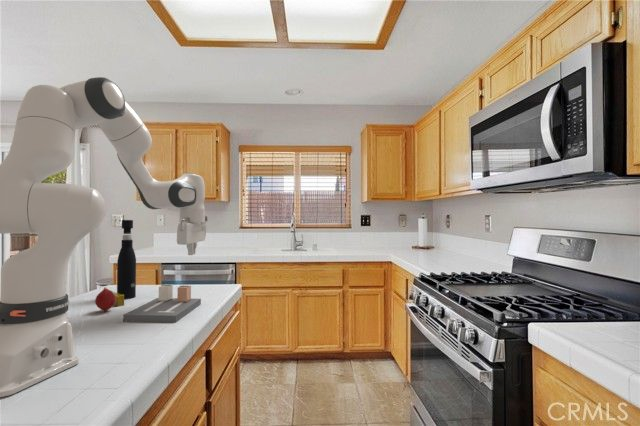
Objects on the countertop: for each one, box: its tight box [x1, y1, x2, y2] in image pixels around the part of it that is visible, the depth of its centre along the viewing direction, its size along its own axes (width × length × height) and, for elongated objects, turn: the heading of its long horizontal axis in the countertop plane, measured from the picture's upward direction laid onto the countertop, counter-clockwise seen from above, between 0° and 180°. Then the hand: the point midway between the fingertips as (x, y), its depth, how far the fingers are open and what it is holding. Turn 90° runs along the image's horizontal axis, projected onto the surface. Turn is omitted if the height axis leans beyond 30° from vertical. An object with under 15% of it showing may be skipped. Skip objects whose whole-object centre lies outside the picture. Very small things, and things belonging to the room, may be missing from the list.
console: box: [122, 297, 202, 323], centre depth 119 cm, size 22×16×2 cm
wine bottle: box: [116, 219, 137, 300], centre depth 139 cm, size 6×6×30 cm
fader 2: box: [176, 284, 192, 302], centre depth 126 cm, size 4×3×5 cm
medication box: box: [111, 290, 125, 307], centre depth 130 cm, size 12×3×4 cm, turn 53°
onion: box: [94, 286, 116, 312], centre depth 119 cm, size 6×6×8 cm
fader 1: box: [158, 284, 174, 301], centre depth 127 cm, size 4×3×5 cm
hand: (191, 254), depth 133 cm, fingers closed
